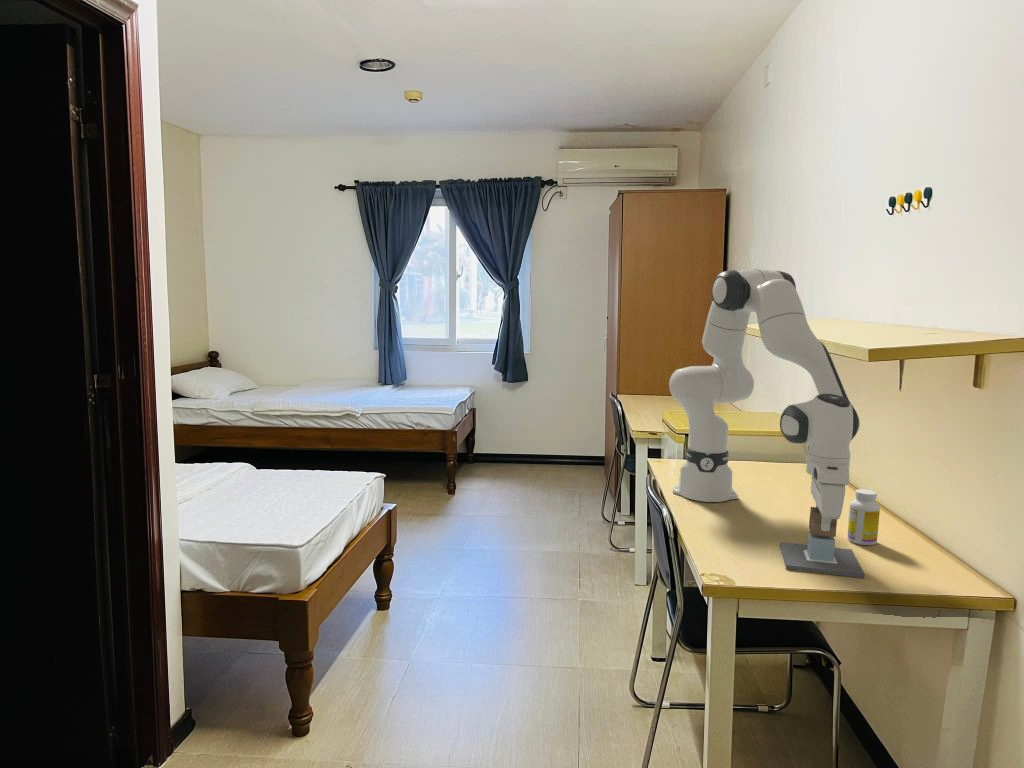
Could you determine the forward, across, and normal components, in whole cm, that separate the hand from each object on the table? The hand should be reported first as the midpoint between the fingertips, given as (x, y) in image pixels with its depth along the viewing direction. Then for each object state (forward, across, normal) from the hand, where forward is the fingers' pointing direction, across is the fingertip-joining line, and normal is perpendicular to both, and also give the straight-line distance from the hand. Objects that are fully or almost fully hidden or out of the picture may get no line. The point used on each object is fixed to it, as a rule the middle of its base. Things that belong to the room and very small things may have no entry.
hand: (822, 525), depth 164 cm
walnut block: (+2, 0, 0) cm, 2 cm away
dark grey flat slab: (+9, 0, 0) cm, 9 cm away
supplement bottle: (+9, -17, +12) cm, 23 cm away
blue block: (+8, 0, 0) cm, 8 cm away
